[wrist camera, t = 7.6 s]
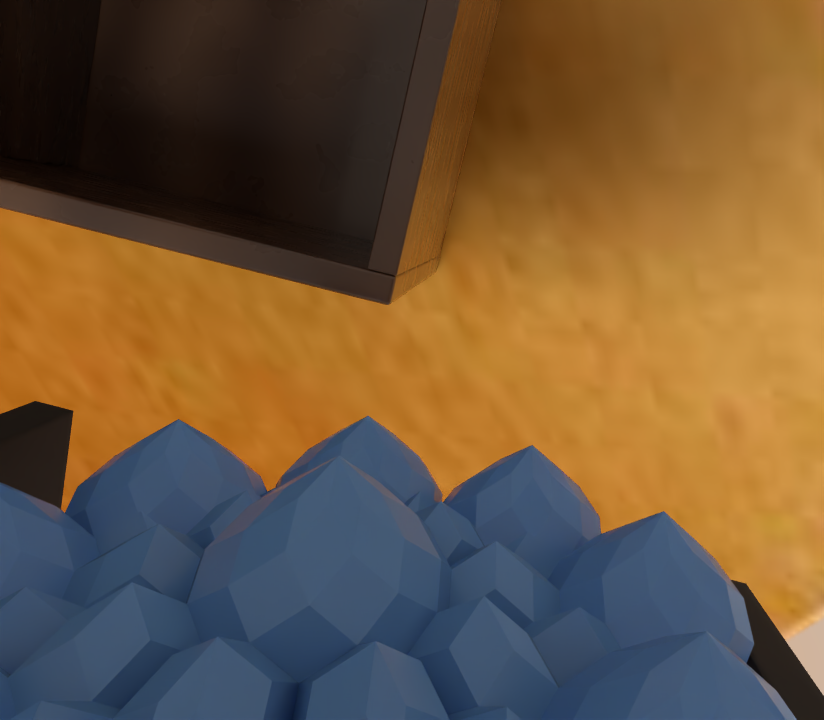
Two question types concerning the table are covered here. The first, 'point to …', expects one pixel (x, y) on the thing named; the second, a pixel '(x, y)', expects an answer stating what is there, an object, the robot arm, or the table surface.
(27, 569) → the grapes
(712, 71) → the table surface
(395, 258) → the chest
